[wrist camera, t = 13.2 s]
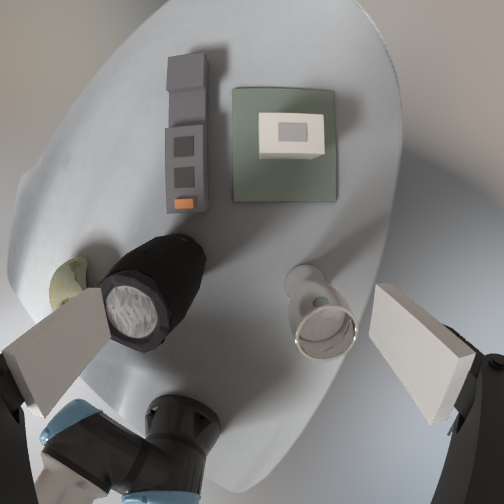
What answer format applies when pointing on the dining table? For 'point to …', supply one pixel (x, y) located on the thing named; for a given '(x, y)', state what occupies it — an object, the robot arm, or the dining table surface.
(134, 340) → the portable speaker
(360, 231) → the dining table surface
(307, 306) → the beer glass
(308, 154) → the block
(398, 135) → the dining table surface
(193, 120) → the power strip
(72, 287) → the seashell
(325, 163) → the mat
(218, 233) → the dining table surface
